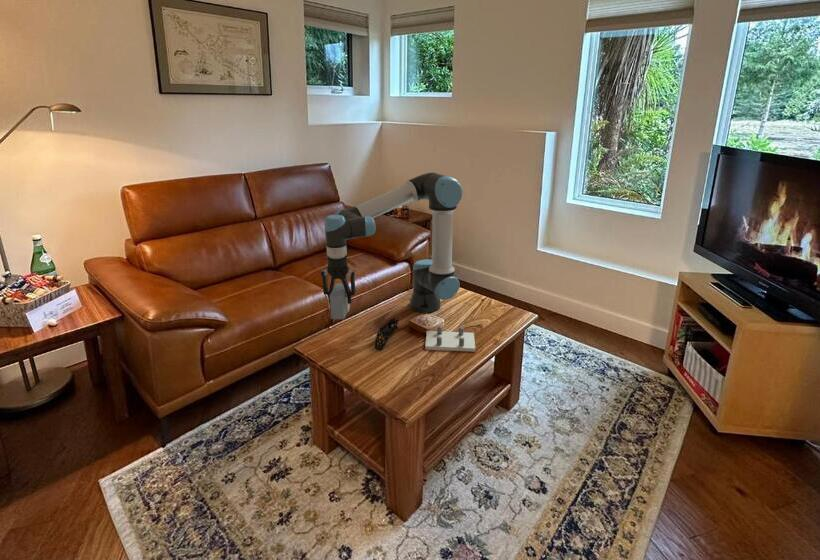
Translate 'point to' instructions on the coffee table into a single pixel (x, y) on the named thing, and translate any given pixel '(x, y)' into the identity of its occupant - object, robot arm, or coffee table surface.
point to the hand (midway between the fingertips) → (340, 310)
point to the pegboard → (450, 340)
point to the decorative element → (386, 332)
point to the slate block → (338, 302)
